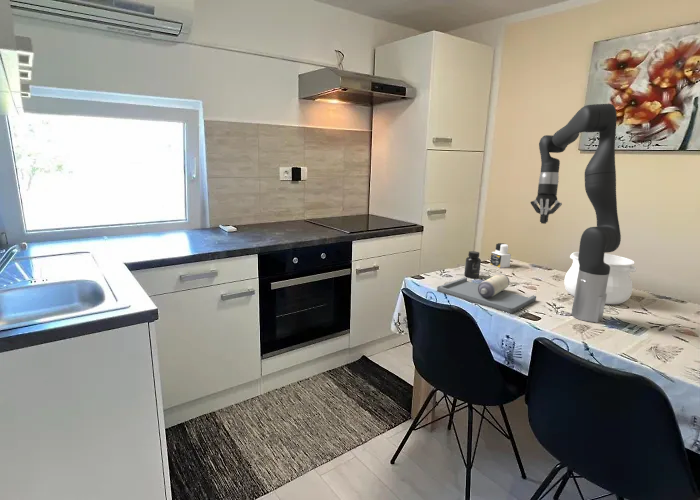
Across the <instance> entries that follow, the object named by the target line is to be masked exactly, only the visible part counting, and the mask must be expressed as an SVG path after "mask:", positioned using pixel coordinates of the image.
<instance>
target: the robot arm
mask: <svg viewBox="0 0 700 500" xmlns="http://www.w3.org/2000/svg"><path fill="white" fill-rule="evenodd" d="M616 109H617V108H616V107H615V105H614V104H612V103H600V104H597V103H595V104H586V105H584V106H582V107H581V108H580V109H579V110H578V111H577V112H576V113H575V114H574V115H573V116H572V117H571V119H570V120H569V121H568V122H567V123H566V125H564V126H563V127H562V128H560V129H559V130H557V131H556V132H554V134H553V135H552V134H551V135H548V134H547V135H543V136H542V137H541V138H540V140H539V143H538V149H539V153H540V162H541V166H540V174H539V178H538V187H537V196H536V197H535V199H534V200H532V201H530V205H531V206H532V207H533V209H534V211H535V212H536V213H537V214H539V215H540V217H539V222H540V224H544V225H545V224H547V223H549V216H550V215H553V214H555V213H556V211H557V210H559V208H560V207H561V206H562V205H563V203H562V202H560V201H559V200H558V197H557V195H558V188H559V179H560V178H559V177H560V176H559V175H560V174H559V173H560V172H559V171H560V167H561V166H560V164H561V161H560V159H558V158H556V157H552V156H551V154H554V153H555V154H561V153H563V152H564V151H566V149H567V147H568V146H569V145H571V144H572V143H574V142H576V140H577V139H578V138H579V136H580V133H599V136H598V139H599V140H598V144H597V145H598V146H597V148H596V151H594V154H593V155H592V156H591V158H590V160H589V161H588V163H587V165H586V167H585V169H584V189H585V192H586V196H587V198H588V200H589V202H590V204H591V205H592V207H593V209H594V212H595V216H596V226H590V227H587V228H586V229H585V230H584V231H583V232H582V235H581V236H580V241H579V249H578V252H579V256H578V261H579V265H580V266H579V272H578V278H577V284H576V290H575V295H574V296H573V301H572V308H571V314H570V315H571V316H572V317H573V318H576V319H578V320H581V321H585V322H590V323H591V322H594V323H596V324H597V323H599V322H600V321H601V320H603V318H604V317H603V316H604V313H605V312H604V311H605V306H606V304H605V302H606V296H607V294H606V288H607V282H608V277H609V272H610V266H609V265H608V264H606V263H604V253H606V254H609V253H612V252H613V253H614V252H615V251H616V250H617V249H619V247H620V245H621V239H622V235H621V228H620V221H619V214H618V202H617V201H618V200H617V170H616V149H615V148H616V133H617V121H618V120H617V117H618V116H617V110H616ZM550 153H551V154H550ZM553 205H554V206H553ZM552 206H553V207H552Z"/></svg>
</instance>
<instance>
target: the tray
mask: <svg viewBox="0 0 700 500" xmlns="http://www.w3.org/2000/svg"><path fill="white" fill-rule="evenodd" d="M480 284H481V283H476V282H472V281H468V278H467V277H465V276H464V277H461V278H459V279H456V280H453V281H449V282H447V283H444V284H441V285H438V286H437V287H436V292H438V293H440V294H445V295H448V296H451V297H454V298H457V299H461V300H464V301H468V302H470V303H474V304H477V305H480V306H484V307H487V308H489V309H493V310H498V311H500V312H503V311H504V312H503V313H506V312H507V314H509V313H510V314H509V315H512V313H513V314H514V313H516V312H517V310H518V311H520V310H522V309H523V307H524V308H526V307H527V306H529V305H531V304H533V303H535V302H536V301H537V296H536V295H531V296H529V297H528V296H524V295H522V294H521V295H520V294H516V293H513V292H510V291H505V290H502V291H501V292H499V293H497V294H496V295H494V296H493V297H490V298H484V297H482V296H481V295H480V294H479V292H478V286H479V285H480ZM521 308H522V309H521ZM519 309H520V310H519ZM515 311H516V312H515Z"/></svg>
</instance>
